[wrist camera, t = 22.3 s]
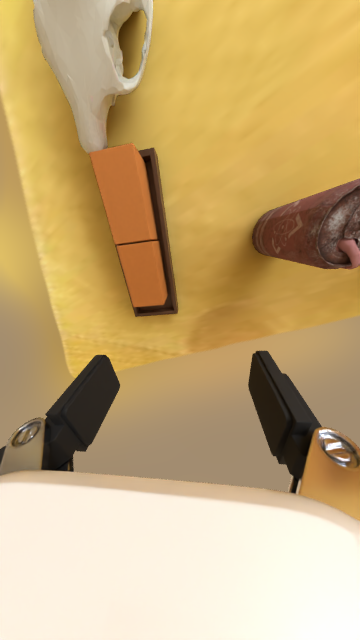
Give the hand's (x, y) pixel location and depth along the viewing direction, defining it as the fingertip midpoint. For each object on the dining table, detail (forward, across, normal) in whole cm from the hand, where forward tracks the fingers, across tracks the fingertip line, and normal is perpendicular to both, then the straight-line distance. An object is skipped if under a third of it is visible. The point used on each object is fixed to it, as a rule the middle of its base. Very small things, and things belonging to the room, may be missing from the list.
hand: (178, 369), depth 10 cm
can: (+21, -13, -7) cm, 26 cm away
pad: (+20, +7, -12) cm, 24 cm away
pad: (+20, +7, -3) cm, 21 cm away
